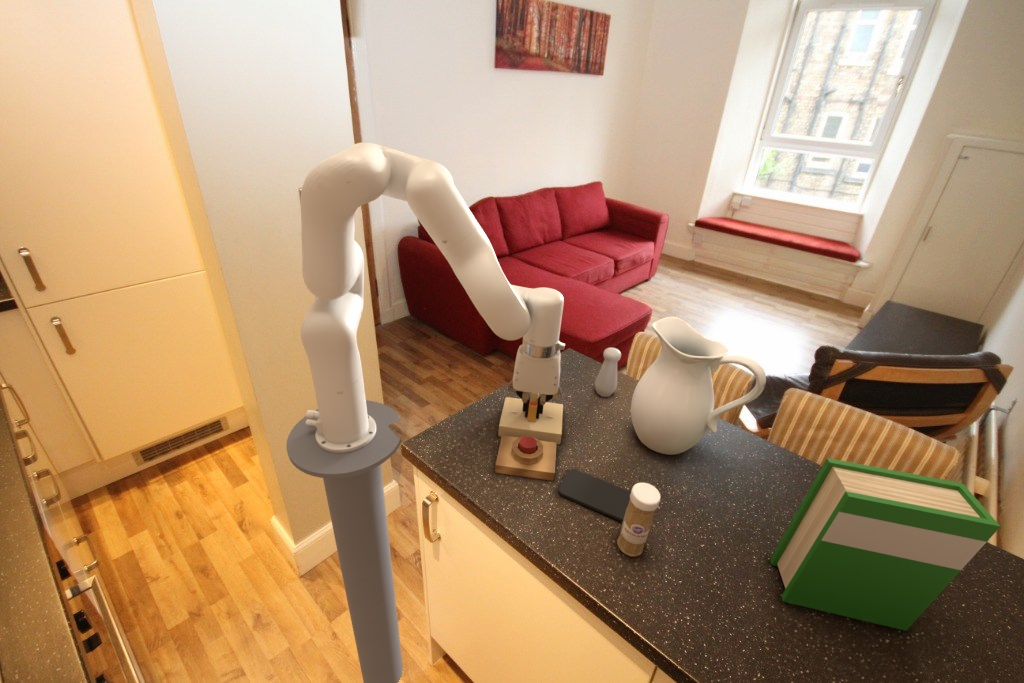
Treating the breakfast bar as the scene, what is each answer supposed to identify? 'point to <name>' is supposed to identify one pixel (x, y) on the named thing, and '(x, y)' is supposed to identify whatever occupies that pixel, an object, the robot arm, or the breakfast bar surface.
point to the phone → (595, 494)
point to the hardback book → (878, 542)
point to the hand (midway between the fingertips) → (532, 413)
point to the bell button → (527, 445)
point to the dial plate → (541, 429)
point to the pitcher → (684, 388)
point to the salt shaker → (608, 373)
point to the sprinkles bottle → (638, 518)
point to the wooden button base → (526, 459)
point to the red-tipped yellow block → (532, 407)
